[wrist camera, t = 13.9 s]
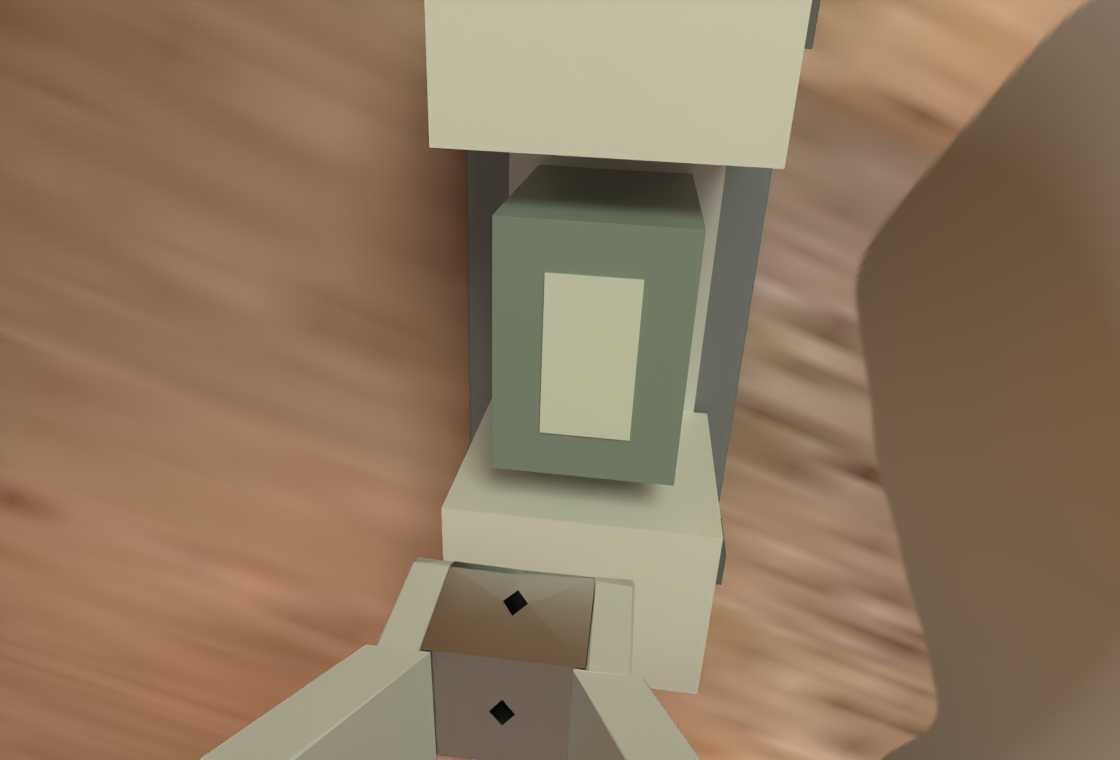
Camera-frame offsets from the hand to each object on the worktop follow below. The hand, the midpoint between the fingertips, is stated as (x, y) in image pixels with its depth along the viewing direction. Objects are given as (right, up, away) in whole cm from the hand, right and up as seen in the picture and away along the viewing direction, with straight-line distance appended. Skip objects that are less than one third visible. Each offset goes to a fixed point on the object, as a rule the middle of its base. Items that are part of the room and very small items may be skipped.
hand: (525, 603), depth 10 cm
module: (+2, +7, +15) cm, 17 cm away
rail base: (+2, +7, +17) cm, 18 cm away
